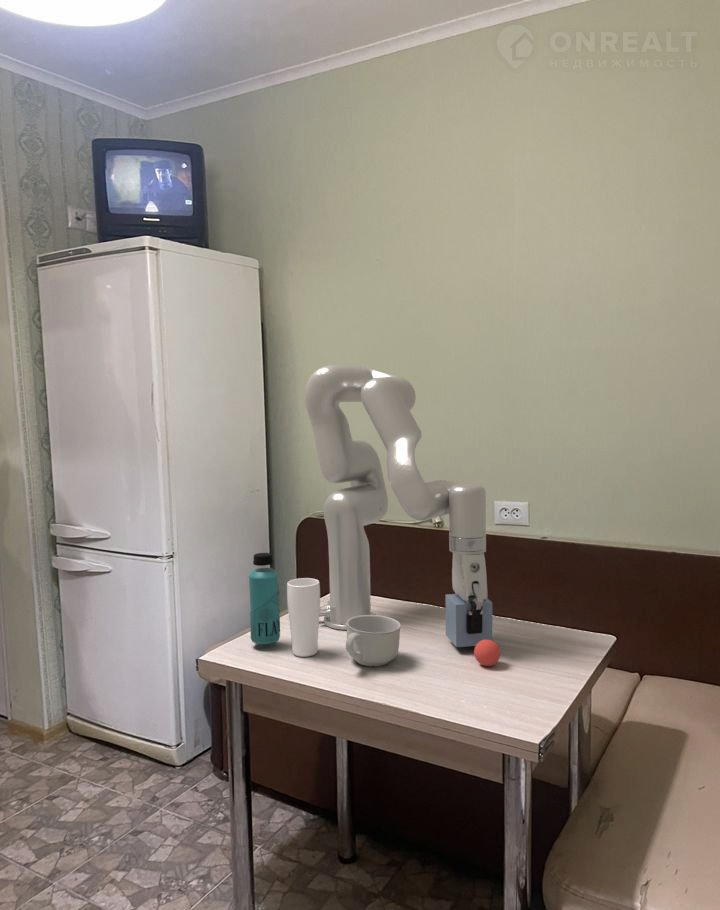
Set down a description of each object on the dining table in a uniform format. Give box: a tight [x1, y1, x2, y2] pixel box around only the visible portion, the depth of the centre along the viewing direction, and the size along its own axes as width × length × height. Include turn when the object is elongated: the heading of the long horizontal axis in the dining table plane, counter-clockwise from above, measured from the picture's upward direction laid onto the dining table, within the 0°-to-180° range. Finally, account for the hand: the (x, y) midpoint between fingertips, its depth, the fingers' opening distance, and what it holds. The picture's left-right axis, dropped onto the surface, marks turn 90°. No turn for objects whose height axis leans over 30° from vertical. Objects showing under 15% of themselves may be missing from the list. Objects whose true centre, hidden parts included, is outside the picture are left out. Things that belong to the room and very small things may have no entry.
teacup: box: [345, 614, 402, 667], centre depth 138 cm, size 14×11×8 cm
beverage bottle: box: [248, 552, 281, 645], centre depth 149 cm, size 6×7×20 cm
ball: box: [473, 639, 501, 667], centre depth 136 cm, size 5×5×5 cm
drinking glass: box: [286, 577, 321, 658], centre depth 144 cm, size 7×7×15 cm
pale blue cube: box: [445, 593, 494, 648], centre depth 146 cm, size 8×8×9 cm
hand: (468, 626), depth 146 cm, fingers closed on pale blue cube, 7 cm apart
